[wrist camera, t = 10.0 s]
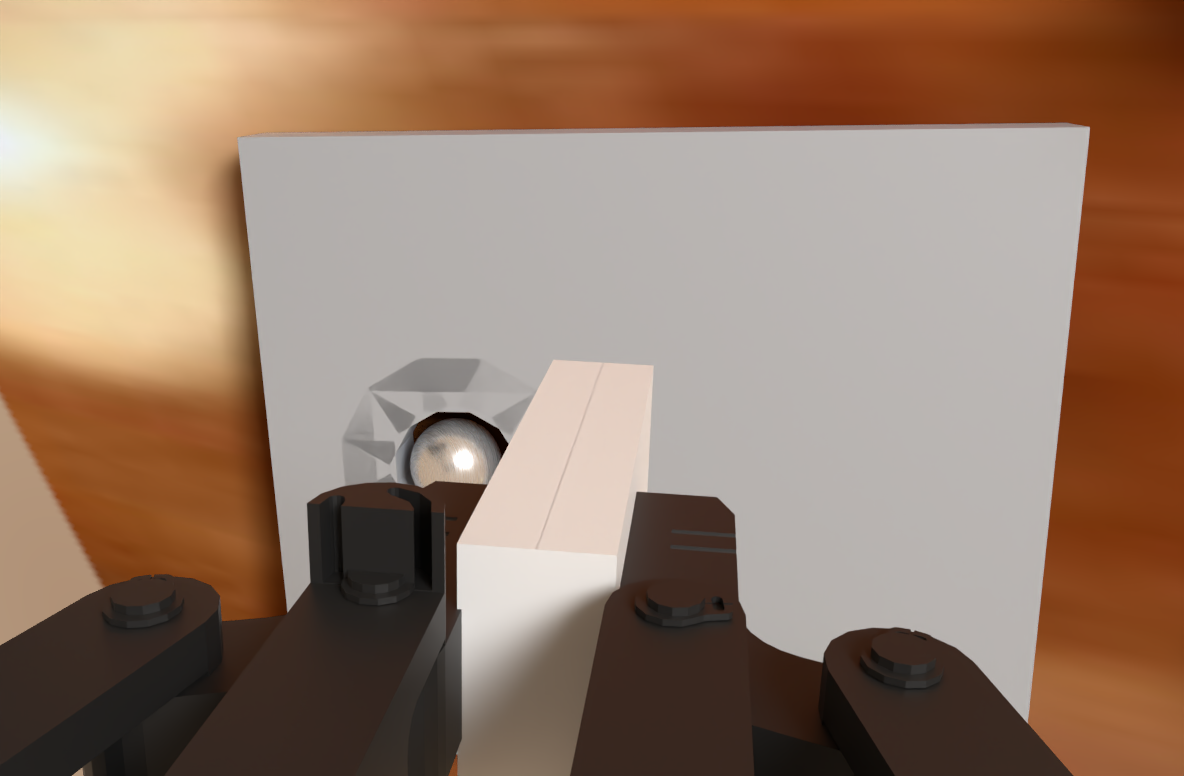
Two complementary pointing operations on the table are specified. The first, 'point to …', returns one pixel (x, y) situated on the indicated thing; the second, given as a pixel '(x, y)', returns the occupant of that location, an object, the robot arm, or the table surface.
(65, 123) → the table surface
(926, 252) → the plate
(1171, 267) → the table surface
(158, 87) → the table surface
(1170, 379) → the table surface
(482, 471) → the steel ball
